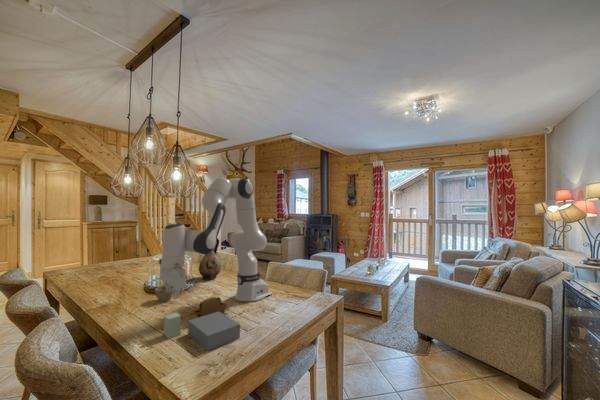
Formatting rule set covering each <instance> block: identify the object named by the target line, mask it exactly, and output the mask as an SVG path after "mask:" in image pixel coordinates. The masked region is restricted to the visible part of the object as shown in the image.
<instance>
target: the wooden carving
mask: <svg viewBox="0 0 600 400" xmlns="http://www.w3.org/2000/svg"><path fill="white" fill-rule="evenodd" d="M227 307H228V304H227V303H225V302H222V299H221V297H219V296H218V297H214V296H213V297H209V298H206V299H204V300H203V301H200V303H199V309H197V310H196V309H195V310H194V311H193V313H194V314H195V315H196V318H199V317H202V316H205V315H209V314H212V313H215V312H221V313H222V314H225V312H226V309H227Z"/></svg>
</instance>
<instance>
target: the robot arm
mask: <svg viewBox="0 0 600 400" xmlns="http://www.w3.org/2000/svg"><path fill="white" fill-rule="evenodd" d="M253 194H254V184H253V182H252V181H251V179H249V178H246V177H242V178H240V177H239V178H238V177H237V178H229V179H227V178H225V177H221V176H220V177H217V178H216V179H214V180H213V181H212V182H211V184H210V185H209V186H208V188H207V189H206V191H204V194H203V196H202V197H201V204H202V206H203V208H204V209H205V210H206V211H207V212H208V213H210V214H211V215H210V218H209V220H208V223H207V226H206V227H205V228H204V229H203V230H195V229H191V228H189V227H186V226H185V225H184V223H180V222H179V223H178V222H177V223H170V224H167V225H166V226H165V227H164V228H163V233H162V238H161V241H162V242H161V246H162V253H161V258H159V259H158V264H159V273H160V274H159V275H160V280H161V281H163V283H164V286H165V287H166V292H167V293H169V292H171V286H172V287H174V288H175V289H174V292H173V297H174V298H175V299H179V298H180V294H181V291H182V289H186V287H187V273H186V269H185V268H183V267H184V266H185V259H186V258H185V255H186V254H185V252H191V253H198V254H202V255H205V254H208V253H210V252H211V251H212V250H214V249H215V247H216V243H217V238H218V236H219V233H220V230H221V227H222V224H223V222H224V219H225V216H226V212H227V209H226V208H227V207H226V206H225V205H226V202H227V201H228V199H235V212H236V222H237V224H238V225H239V226H240V227H241V229H242V230H237V231H234V232H233V233H232V234H231V235H230V238H229V242H230V246H232V248H233V249H234V250H235V254H236V256H237V261H238V262H237V264H238V265H237V268H238V270H237V271H238V272H237V276H236V277H237V279H236V281H237V288H236V293H235V296H234V298H235V300H237V301H240V302H258V300H259V301H261V300H263V299H265V298H264V297H266V296H268V295H270V296H272V295H273V292H272V290H270V287H269V285H268V283H267V282H265V281H264V280H262V279H261V278H260V277H263V276H264V274H263V273H261V272H258V259H257V257H256V256H255V255H254V253H253V252H260V251H263V250H264V249H265V248H266V247H267V245H268V244H267V242H268V239H267V237H266V235H265V234H264V233H263V232H262V230H261V229H260V227H259V224H258V222H257V214H256V213H257V212H256V203H255V198H254V195H253ZM271 294H272V295H271ZM268 297H269V296H268ZM262 298H263V299H262ZM266 298H267V297H266ZM260 299H261V300H260Z"/></svg>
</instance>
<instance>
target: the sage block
mask: <svg viewBox="0 0 600 400" xmlns="http://www.w3.org/2000/svg"><path fill="white" fill-rule="evenodd" d="M163 316H164V317H163V336H164V337H165V338H166V339H168V340H170V339H171V338H175V337H178V336H181V333H182V331H181V330H182V323H181V322H182V316H181V314H180V313H178V312H173V313H172V312H171V313H169V314H166V315H163Z"/></svg>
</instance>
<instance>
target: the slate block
mask: <svg viewBox="0 0 600 400" xmlns="http://www.w3.org/2000/svg"><path fill="white" fill-rule="evenodd" d="M187 322H188V323H187V325H188V326H187V334H188V335H189V337H191V338H192V339H193V340H194V341H195V342H196V343H198V344H199V345H200V346H201V347H202V348H204V350H206V351H207V352H208V351H211V350H214V349H216V348H218V347H221V346H223V345H226V344H228V343H230V342H234V341H236V340H238V339H240V337H241V335H240V334H241V327H240V326H241V324H240V323H239V322H237V321H236V320H234V319H232V318H231V317H229V316H228V315H226V314H225V313H223V314H222V313H221V312H215V313H212V314H209V315H205V316H202V317H199V318H198V317H196V318H193V319H189V320H188V321H187Z"/></svg>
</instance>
